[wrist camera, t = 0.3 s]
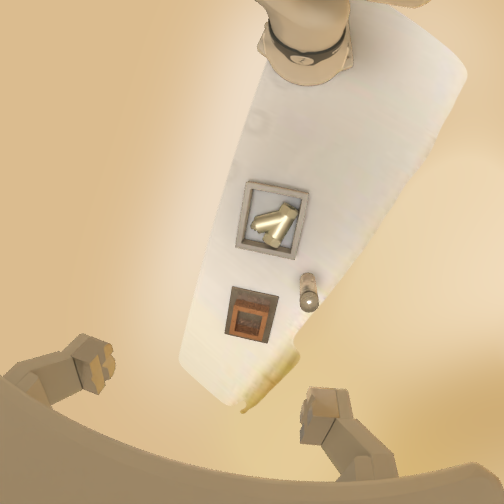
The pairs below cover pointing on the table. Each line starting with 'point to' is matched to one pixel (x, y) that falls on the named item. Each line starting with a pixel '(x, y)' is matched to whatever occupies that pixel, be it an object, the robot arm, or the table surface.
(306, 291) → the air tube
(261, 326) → the collar
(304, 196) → the parts corral
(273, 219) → the pipe fitting
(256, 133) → the table surface
